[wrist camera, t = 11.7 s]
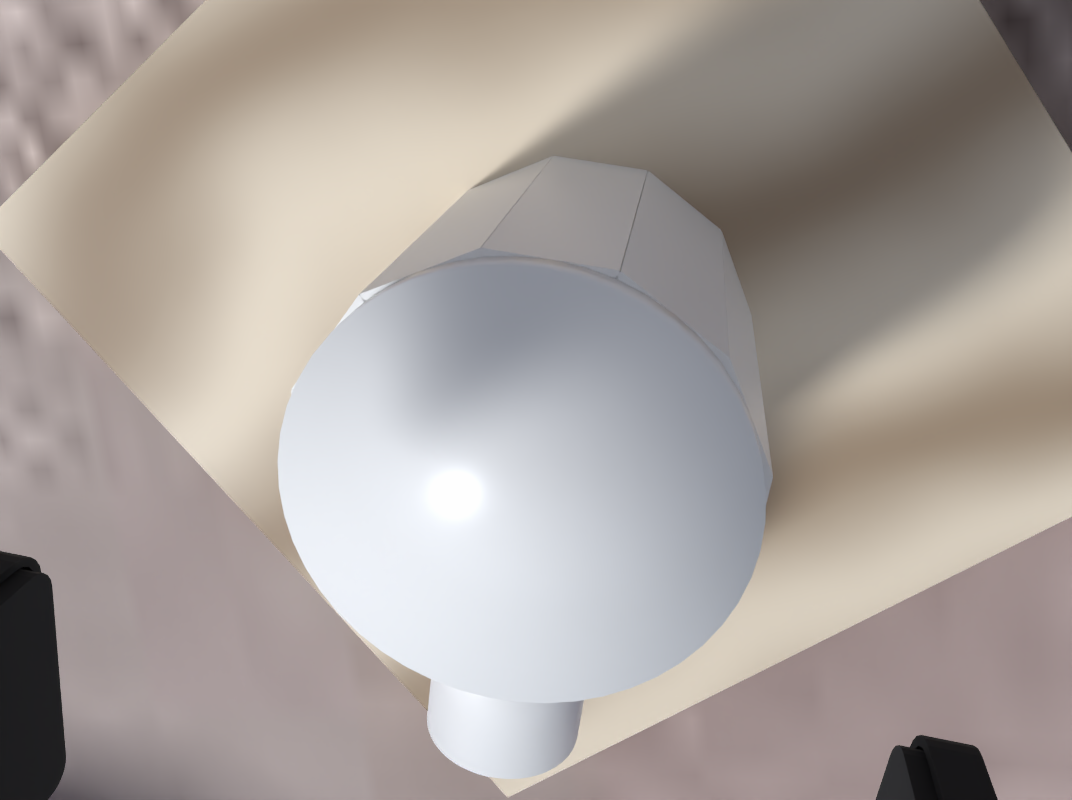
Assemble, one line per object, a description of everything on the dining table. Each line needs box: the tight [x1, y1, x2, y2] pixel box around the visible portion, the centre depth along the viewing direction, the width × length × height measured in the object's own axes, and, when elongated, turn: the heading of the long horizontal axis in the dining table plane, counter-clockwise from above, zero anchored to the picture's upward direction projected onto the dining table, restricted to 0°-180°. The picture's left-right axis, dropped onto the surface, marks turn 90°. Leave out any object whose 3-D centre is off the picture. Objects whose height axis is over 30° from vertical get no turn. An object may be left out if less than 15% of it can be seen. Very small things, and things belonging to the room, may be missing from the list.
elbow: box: [278, 156, 773, 779], centre depth 19 cm, size 7×11×8 cm
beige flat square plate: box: [0, 0, 1072, 797], centre depth 21 cm, size 20×20×7 cm
